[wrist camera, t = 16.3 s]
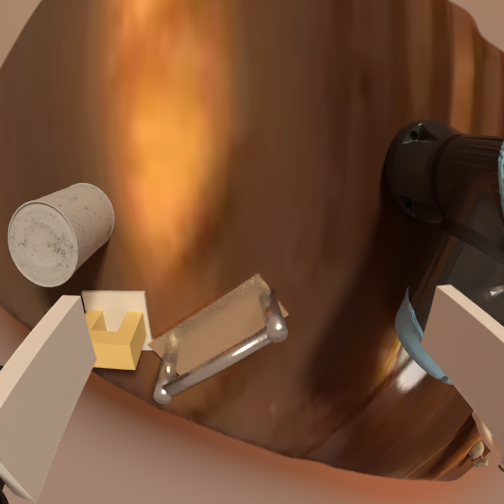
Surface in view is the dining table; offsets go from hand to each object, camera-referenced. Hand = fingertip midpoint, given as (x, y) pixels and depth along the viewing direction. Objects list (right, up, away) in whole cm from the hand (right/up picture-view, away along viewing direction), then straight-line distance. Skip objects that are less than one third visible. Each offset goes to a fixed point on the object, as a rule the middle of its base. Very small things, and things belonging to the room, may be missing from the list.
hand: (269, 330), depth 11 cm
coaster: (-21, -8, +35) cm, 41 cm away
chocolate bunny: (+76, -65, +63) cm, 118 cm away
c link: (-21, -8, +34) cm, 41 cm away
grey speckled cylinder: (-24, +7, +29) cm, 38 cm away
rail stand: (-6, -8, +36) cm, 38 cm away
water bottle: (+63, -41, +54) cm, 93 cm away
